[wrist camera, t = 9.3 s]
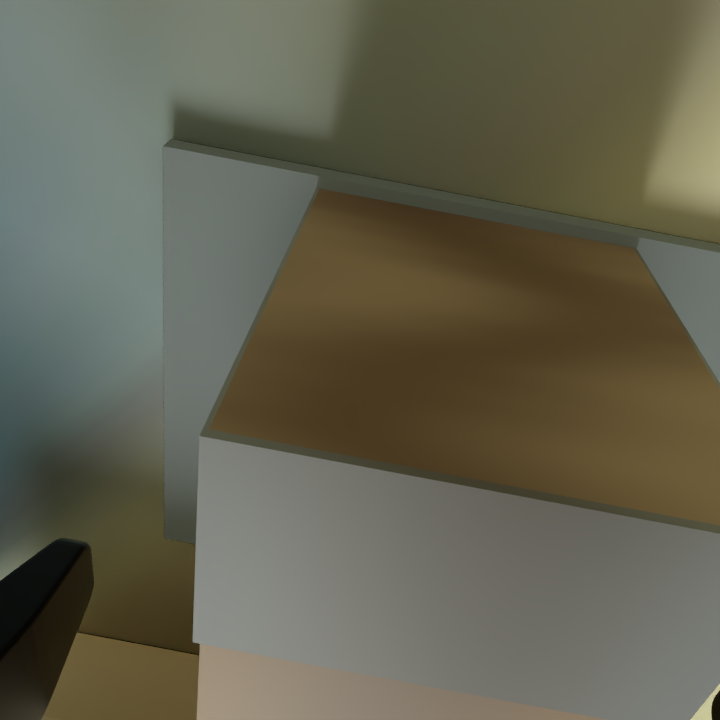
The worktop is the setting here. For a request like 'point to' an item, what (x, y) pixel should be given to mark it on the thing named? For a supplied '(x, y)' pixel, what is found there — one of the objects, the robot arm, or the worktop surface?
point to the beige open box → (124, 682)
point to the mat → (266, 251)
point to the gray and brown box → (458, 483)
